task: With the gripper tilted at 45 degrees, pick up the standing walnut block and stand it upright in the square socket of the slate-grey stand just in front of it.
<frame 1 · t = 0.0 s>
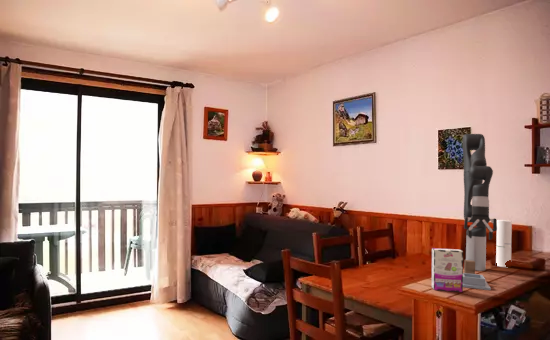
hand: (480, 238, 192), 17 cm above the table, tool pointing down, fingers open, 8 cm apart
candy bar box: (446, 290, 159), on the table
socket stand: (472, 285, 168), on the table
walnut block: (469, 279, 178), on the table
cylindrical container: (503, 266, 215), on the table
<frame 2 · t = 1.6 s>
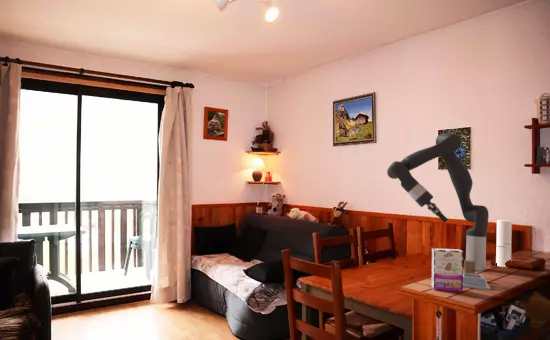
hand: (445, 220, 183), 26 cm above the table, tool tilted 45°, fingers open, 8 cm apart
nothing on the table moved.
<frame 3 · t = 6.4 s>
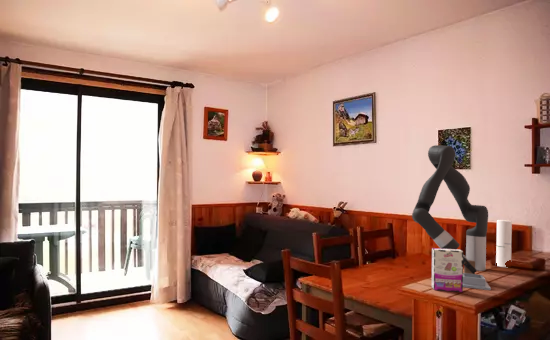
hand: (474, 271, 178), 4 cm above the table, tool tilted 45°, fingers closed on walnut block, 4 cm apart
walnut block: (469, 279, 178), on the table, touching gripper
everything else where it was.
when the fingers open (6 cm above the table, at t = 12.5 s): walnut block drops 1 cm, resting on socket stand.
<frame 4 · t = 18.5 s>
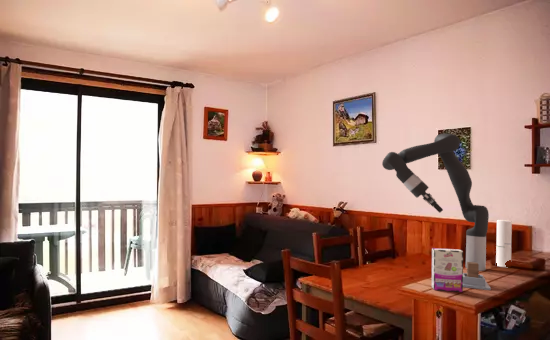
hand: (441, 210, 183), 31 cm above the table, tool tilted 45°, fingers open, 8 cm apart
walnut block: (472, 282, 168), point 1 cm above the table, touching socket stand
everything else where it was.
at the end: walnut block 0.2 cm off-centre on the socket stand, point 1.0 cm above the socket stand's base; walnut block tilted 0°; the gripper is holding nothing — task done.
